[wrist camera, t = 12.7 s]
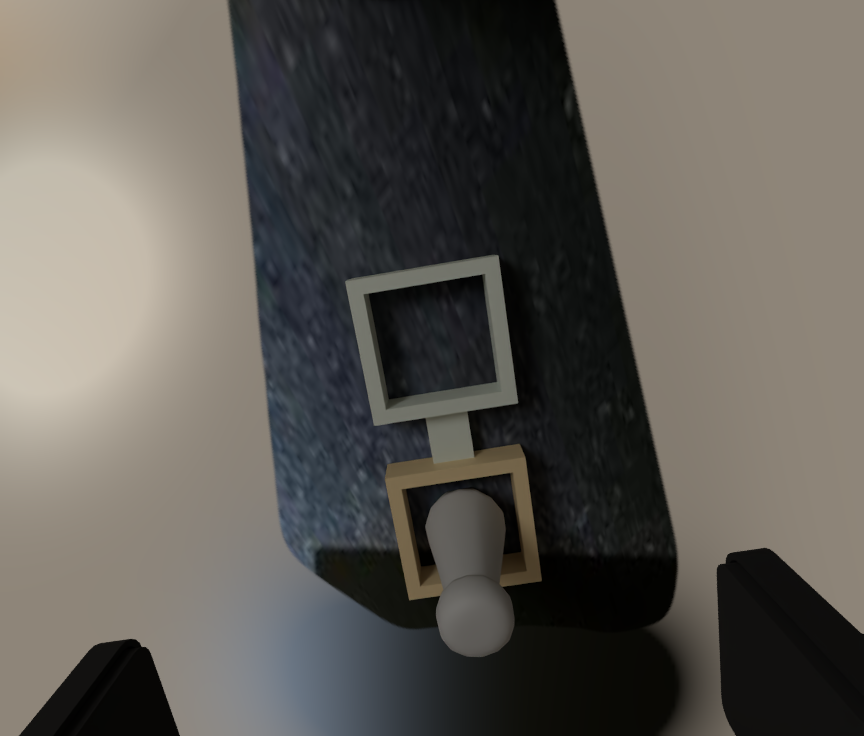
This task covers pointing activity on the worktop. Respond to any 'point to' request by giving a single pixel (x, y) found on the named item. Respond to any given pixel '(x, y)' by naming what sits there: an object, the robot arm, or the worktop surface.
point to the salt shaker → (470, 572)
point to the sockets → (447, 422)
